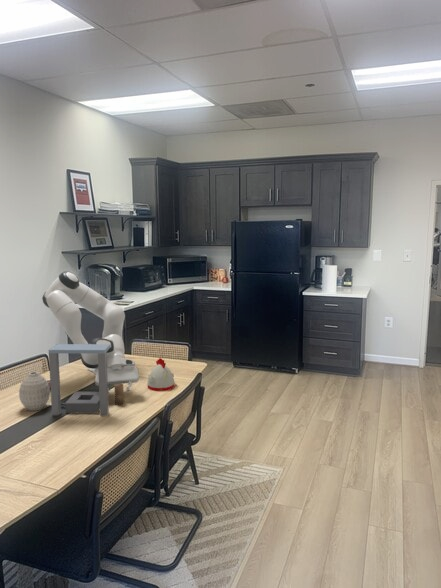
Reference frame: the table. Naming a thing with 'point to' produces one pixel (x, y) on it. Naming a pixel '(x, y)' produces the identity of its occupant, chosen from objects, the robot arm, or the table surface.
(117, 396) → the peg
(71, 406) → the socket station
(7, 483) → the table surface
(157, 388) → the kitchen timer
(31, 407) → the vase
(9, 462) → the table surface
